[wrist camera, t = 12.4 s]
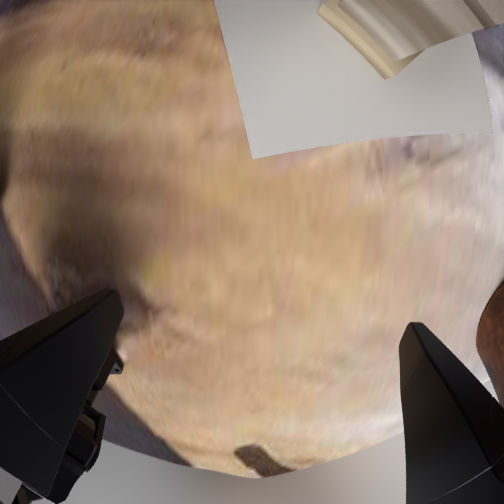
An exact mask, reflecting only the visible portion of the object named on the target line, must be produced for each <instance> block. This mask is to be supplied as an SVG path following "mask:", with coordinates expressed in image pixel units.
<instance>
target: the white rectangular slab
mask: <svg viewBox="0 0 504 504" xmlns="http://www.w3.org/2000/svg"><path fill="white" fill-rule="evenodd" d="M326 1H327V0H214V4H215V8H216V11H217V15H218V19H219V23H220V27H221V30H222V34H223V38H224V42H225V46H226V50H227V54H228V58H229V62H230V66H231V70H232V74H233V78H234V82H235V86H236V90H237V94H238V98H239V103H240V107H241V111H242V115H243V119H244V124H245V128H246V132H247V136H248V141H249V145H250V149H251V154H252V158H253V159H257V158H262V157H267V156H272V155H277V154H282V153H287V152H293V151H298V150H304V149H310V148H316V147H322V146H328V145H335V144H342V143H349V142H356V141H364V140H373V139H382V138H392V137H402V136H415V135H429V134H449V133H493V126H492V118H491V112H490V105H489V100H488V94H487V89H486V84H485V80H484V76H483V71H482V67H481V63H480V60H479V56H478V53H477V49H476V46H475V43H474V39H473V36H472V33H468V34H465V35H462V36H459V37H456V38H453V39H451V40H448V41H445V42H442V43H440V44H437V45H434V46H432V47H429V48H427V49H425V50H424V51H423V52H422V53H421V54H419V55H418V56H417V57H416V58H415V59H414V60H413V61H411V62H410V63H409V64H408V65H407V66H406V67H405V68H404V69H402V70H401V71H400V72H399V73H398V74H397V75H396V76H394V77H391V78H388V79H385V80H384V79H383V78H382V77H381V75H380V74H379V73H378V72H377V71H376V70H375V69H374V68H373V67H372V66H371V64H370V63H369V62H368V61H367V60H366V59H365V58H364V57H363V56H362V55H361V54H360V53H359V52H358V51H357V50H356V49H355V48H354V47H353V46H352V45H351V44H350V43H349V42H348V41H347V40H346V39H345V38H344V37H343V36H342V35H341V34H339V33H338V32H337V31H336V30H335V29H334V28H333V27H332V26H331V25H329V24H328V23H327V22H326V21H325V20H324V19H323V18H321V17H320V16H319V15H318V14H317V12H318V10H319V9H320V7H321V5H322V4H323V3H324V2H326Z"/></svg>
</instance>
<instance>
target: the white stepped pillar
mask: <svg viewBox="0 0 504 504" xmlns="http://www.w3.org/2000/svg"><path fill="white" fill-rule="evenodd" d="M317 14H318V15H319V16H320V17H321V18H323V19H324V20H325V21H326V22H327V23H328V24H329V25H331V26H332V27H333V28H334V29H335V30H336V31H337V32H338V33H339V34H341V35H342V36H343V37H344V38H345V39H346V40H347V41H348V42H349V43H350V44H351V45H352V46H353V47H354V48H355V49H356V50H357V51H358V52H359V53H360V54H361V55H362V56H363V57H364V58H365V59H366V60H367V61H368V62H369V63H370V64H371V66H372V67H373V68H374V69H375V70H376V71H377V72H378V73H379V74H380V75H381V77H382V78H383V79H384V80H385V79H388V78H391V77H394V76H396V75H397V74H398V73H399V72H400V71H401V70H402V69H404V68H405V67H406V66H407V65H408V64H409V63H410V62H411V61H413V60H414V59H415V58H416V57H417V56H418V55H419V54H421V53H422V52H423V51H424V50H425V49H427V48H429V47H432V46H434V45H437V44H440V43H442V42H445V41H448V40H451V39H453V38H456V37H459V36H462V35H465V34H468V33H471V32H474V31H477V30H481V29H485V30H487V29H490V28H494V27H496V26H497V25H498V24H502V23H504V0H327V1H326V2H324V3H323V4H322V5H321V7H320V9H319V10H318V12H317Z"/></svg>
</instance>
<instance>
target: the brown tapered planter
mask: <svg viewBox="0 0 504 504" xmlns="http://www.w3.org/2000/svg"><path fill="white" fill-rule="evenodd" d="M476 347H477V351H478V354H479V356H480V358H481V360H482V362H483V364H484V366H485V368H486V370H487V373H488V375H489V377H490V379H491V382H492V384H493V387H494V389H495V392H496V394H497V397H498V400H499V403H500V405H501V406H502V407H503V408H504V283H503V284H502V285H501V286H500V287H499V289H498V290H497V291H496V292H495V294H494V295H493V297H492V298H491V300H490V302H489V303H488V305H487V307H486V309H485V311H484V313H483V315H482V317H481V320H480V323H479V327H478V331H477V337H476Z"/></svg>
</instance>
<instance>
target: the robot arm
mask: <svg viewBox="0 0 504 504" xmlns="http://www.w3.org/2000/svg"><path fill="white" fill-rule="evenodd" d="M123 315H124V308H123V305H122V302H121V299H120V295H119V293H118V291H117V290H115V289H111V288H105V289H102V290H100V291H98V292H96V293H94V294H92V295H90V296H88V297H86V298H84V299H82V300H80V301H78V302H76V303H74V304H72V305H70V306H68V307H66V308H64V309H62V310H60V311H58V312H56V313H54V314H52V315H50V316H48V317H46V318H44V319H42V320H40V321H38V322H36V323H34V324H32V325H30V326H28V327H26V328H24V329H22V331H21V330H20V331H18V332H16V333H15V334H13V335H11V336H9V337H7V338H5V339H3V340H1V341H0V504H30V503H31V502H32V501H37V500H41V499H46V500H48V501H49V502H51V503H53V504H59V503H61V502H63V501H65V500H66V498H67V497H68V495H69V493H70V491H71V489H72V487H73V486H74V484H75V482H76V481H77V479H78V478H79V477H80V476H81V475H83V474H85V473H87V472H88V471H89V470H90V469H91V468H92V466H93V465H94V463H95V462H96V460H97V458H98V455H99V452H100V447H101V441H102V436H103V430H104V424H105V419H106V416H105V415H104V414H102V413H101V412H98V411H97V410H96V409H94V408H93V407H92V404H93V402H94V400H95V398H96V396H97V394H98V392H99V391H101V390H102V388H103V386H104V384H105V382H106V380H107V378H108V376H109V374H121V373H122V371H123V367H122V366H121V364H120V363H119V361H118V359H117V358H116V356H115V354H114V352H113V351H112V349H111V346H112V343H113V341H114V338H115V335H116V333H117V330H118V328H119V325H120V323H121V320H122V318H123ZM399 360H400V393H401V403H402V412H403V423H404V435H405V453H406V504H504V408H503V407H502V406H501V405H500V404H499V403H498V401H497V400H496V399H495V398H494V397H492V395H491V394H490V392H488V391H487V389H486V388H485V387H484V386H483V385H482V384H481V382H480V381H479V380H478V379H477V378H476V377H475V376H474V375H473V374H472V373H471V372H470V371H469V370H468V368H467V367H466V366H465V365H464V364H463V363H462V362H461V361H460V360H459V359H458V358H457V357H456V356H455V355H454V354H453V353H452V352H451V351H450V350H449V349H448V348H447V347H446V346H445V345H444V344H443V343H442V342H441V341H440V340H439V339H438V338H437V337H436V336H435V335H434V334H433V333H432V332H431V331H430V330H429V329H428V328H427V327H426V326H425V325H424V324H423V323H421V322H410V323H409V324H408V325H407V327H406V329H405V332H404V334H403V336H402V339H401V341H400V344H399Z"/></svg>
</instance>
